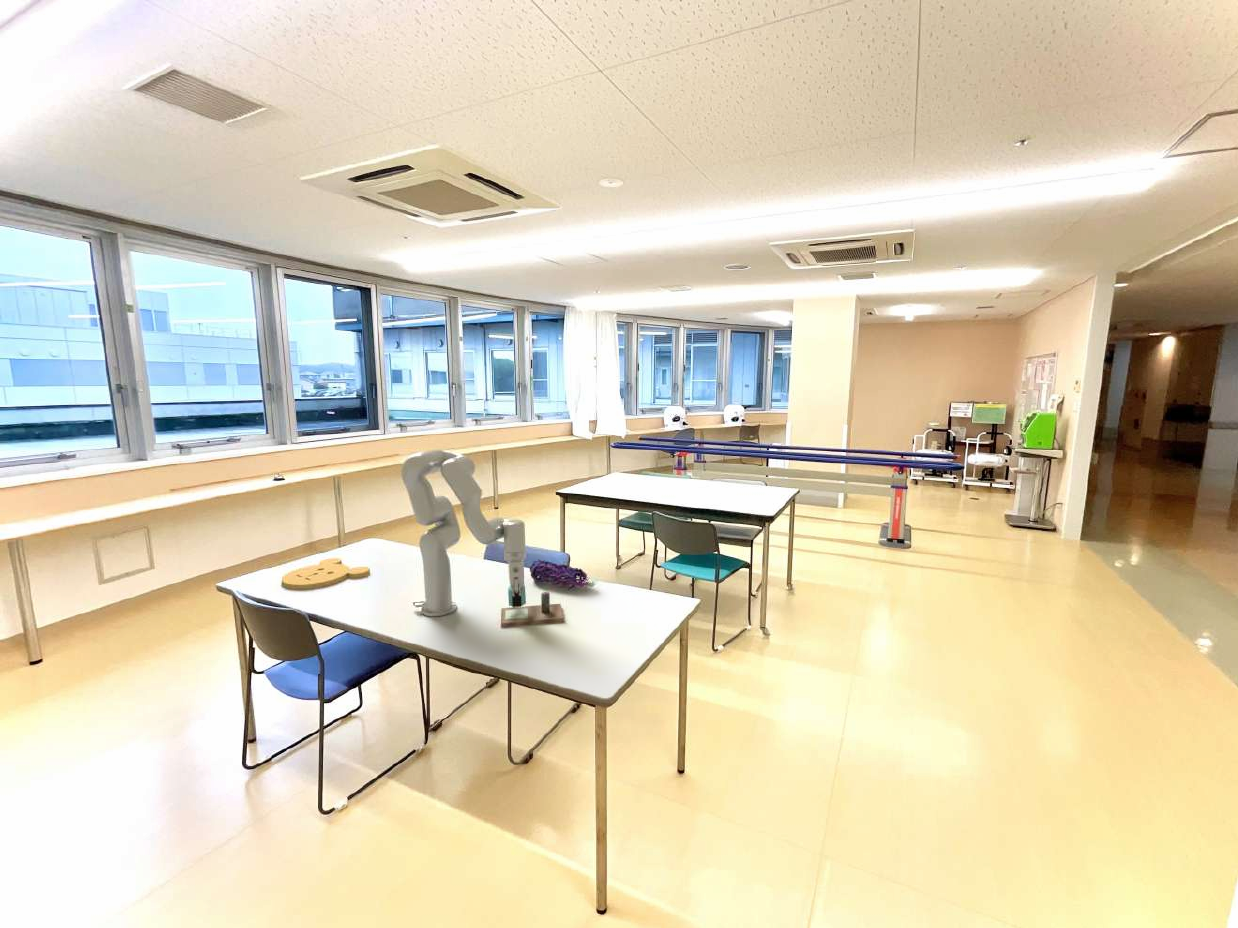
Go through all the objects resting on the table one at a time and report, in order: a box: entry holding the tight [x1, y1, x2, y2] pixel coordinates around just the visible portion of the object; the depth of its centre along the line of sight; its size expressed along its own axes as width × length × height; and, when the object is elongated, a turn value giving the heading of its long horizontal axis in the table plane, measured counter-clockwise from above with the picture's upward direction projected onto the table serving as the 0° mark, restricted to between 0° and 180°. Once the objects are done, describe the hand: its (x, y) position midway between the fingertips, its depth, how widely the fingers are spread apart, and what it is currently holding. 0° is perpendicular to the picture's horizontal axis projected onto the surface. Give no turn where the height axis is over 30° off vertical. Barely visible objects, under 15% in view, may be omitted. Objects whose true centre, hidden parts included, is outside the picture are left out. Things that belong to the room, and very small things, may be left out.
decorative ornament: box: [529, 559, 597, 591], centre depth 225 cm, size 13×11×30 cm
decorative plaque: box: [281, 557, 371, 591], centre depth 235 cm, size 31×3×30 cm
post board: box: [500, 591, 565, 628], centre depth 195 cm, size 22×13×8 cm, turn 101°
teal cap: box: [507, 585, 527, 607], centre depth 193 cm, size 6×6×6 cm
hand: (517, 602), depth 194 cm, fingers closed on teal cap, 6 cm apart
